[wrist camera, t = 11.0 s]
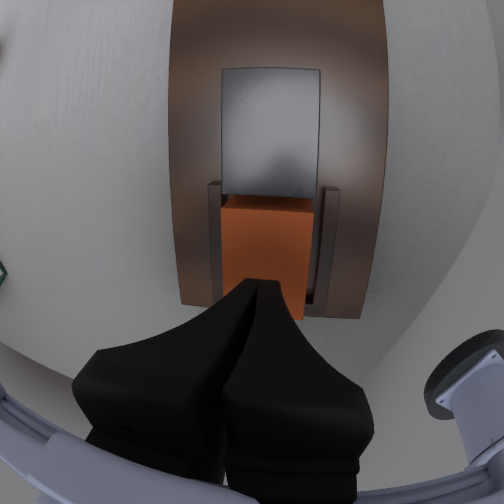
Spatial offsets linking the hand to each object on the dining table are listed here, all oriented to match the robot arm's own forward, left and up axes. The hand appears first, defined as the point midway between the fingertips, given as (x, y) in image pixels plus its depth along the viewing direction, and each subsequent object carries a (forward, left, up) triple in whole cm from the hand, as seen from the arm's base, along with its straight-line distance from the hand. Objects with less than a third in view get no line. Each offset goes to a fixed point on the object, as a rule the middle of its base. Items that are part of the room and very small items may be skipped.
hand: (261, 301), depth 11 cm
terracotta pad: (0, 0, -6) cm, 6 cm away
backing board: (+9, -14, -7) cm, 19 cm away
